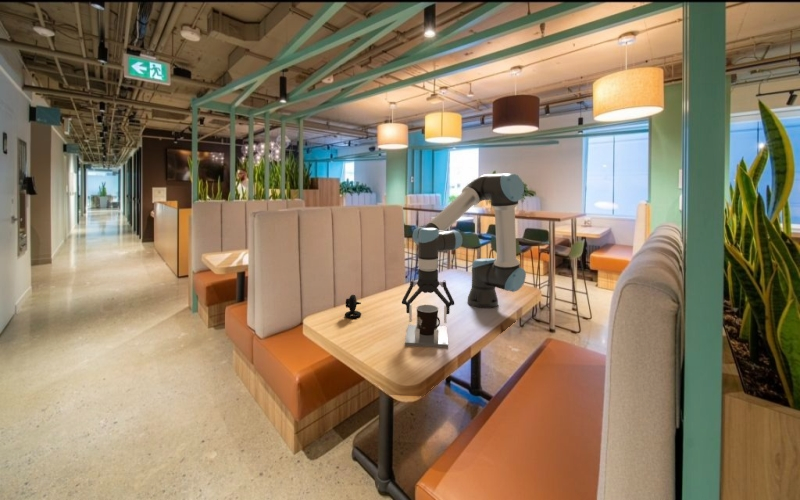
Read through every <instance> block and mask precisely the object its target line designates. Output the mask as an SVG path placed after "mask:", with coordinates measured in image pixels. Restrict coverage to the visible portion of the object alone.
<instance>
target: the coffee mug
mask: <svg viewBox="0 0 800 500" xmlns="http://www.w3.org/2000/svg"><path fill="white" fill-rule="evenodd" d="M438 313H439V307H438V306H436V305H432V304H419V305H418V306H417V307H416V319H417V318H418V328H419V329H420V334H421V335H425V336H430V335H433V334H434V330H435V329H436V328H437V327H438V326H441V319H440V318H439V314H438ZM437 315H438V317H437ZM437 319H438V323H437V326H436V322H437Z"/></svg>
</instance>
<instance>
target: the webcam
mask: <svg viewBox="0 0 800 500" xmlns="http://www.w3.org/2000/svg"><path fill="white" fill-rule="evenodd" d="M357 300H358V299H357V297H356V295H355V294H350V296H349V297H348V298H346V299H345V308H347V309H349V311H346V312H345V313H344V317H345V318H346V319H352V320H353V319H354V320H355V319H358V318H361V317H362V312H361V311H358V310H356V309H357V305H361V304H362V302H359V301H357Z"/></svg>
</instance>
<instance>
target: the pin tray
mask: <svg viewBox="0 0 800 500" xmlns="http://www.w3.org/2000/svg"><path fill="white" fill-rule="evenodd" d="M437 317H438V318H439V314H438V315H437ZM438 323H439V322H438V319H437V322H436V326H437V325H438ZM448 340H449V338H448V329H447V326H446V325H439V326H438V327H437V328H436V329H435V330H434V334H433V335H430V336H425V335H421V334H420V329H419V328H418V318H417V317H416V324H407V327H406V335H405V341H404V346H407V347H427V348H429V347H430V348H431V347H432V348H448V349H449V341H448Z"/></svg>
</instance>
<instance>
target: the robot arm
mask: <svg viewBox="0 0 800 500" xmlns="http://www.w3.org/2000/svg"><path fill="white" fill-rule="evenodd" d="M524 192H525V186H524V182H523V180H522V178H521V177H520V176H519V175H518V174H516V173H509V172H507V173H506V172H505V173H504V172H503V173H487V174H483V175H480V176H479V177H477V178H475V179H473V180H472V181H471V182H469V183H468V184H467V185H466V186H465V187H463V189H462V190H461V193H460V194H459V195H458V196H457V197H456V198H454V200H452V201H451V202H450V203H449V204H448V205H447V206H446V207H445V208H443V210H441V211H440V212H439V213H438V214H437V215H435V217H434V218H433V219H432V220H430V221H429V222H428V223H427V224H426V225H425V226H421V227H419V226H418V227H416V228H415V229H414V230H413V232H412V240H413V242H414V243H415V244H417V246H418V248H417V251H418V253H417V254H418V261H417V267H418V270H417V272H418V273H417V278H418V280H417V281H416V280H413V279H411V280H410V283H409V286H408V288H407V290H406V293H405V294H404V297H403V298H402V301H401V304H402V305H405V306H406V307H405V308H406V312H405V313H406V314H408V315H409V316H408V317H409V320H408V322H409V323H412V318H413V315H412V313H413V312H412V310H413V309H412V308H413V307H412V305H413V304H412V303H413V302H414V300H416V298H418V297H419V295H421V293H422V292H423V293H424V294H426V293H429V294H432V293H435V294H436V296H437V297H438V298H439V299H440V300H441V301H442V302H443V304H444V306H443V307H444V308H443V309H444V310H443V311H444V312H443V313H444V314H443V322H444V324H446V323H447V315H450V310H451V309H450V307H451V306H454V305H455V301H454V299H453V296H452V294H451V292H450V291H449V289H448V287H447V281H446V280H443V281H439V270H438V268H439V253H440V252H448V251H454V250H457V249H460V247H461V246H462V244H463V236H462V234H461V232H460V231H458V230H448V229H450V227H451V226H452V225H454V224H455V223H456V222H457V221H458V220H459V219H460V218H461V217H463V215H464V214H465V213H466V212H468V210H470V209H471V208H472V207H473V206H477V205H478V204H479V203H480V202H483V201H486V200H487V201H490V206H491V207H492V208H493V210H494V220H495V221H494V223H495V243H496V245H495V246H496V258H490V257H489V258H488V257H487V258H486V257H485V258H477V259H474V260H473V261H472V267H471V288H470V291H469V294H468V296H467V304H469V306H472V307H477V308H481V309H482V308H483V309H486V308H487V309H490V308H495V307H497V306H498V304H499V299H498V295H497V292H496V289H501V290H503V291H506V292H507V291H509V292H512V293H515V292H517V291H520V289H521V288H522V286H523V285H524V284H525V281H526V277H527V276H526V275H527V274H526V270H525V269H524V268H523V267H521V262H520V261H519V260H518V258H517V239H516V237H517V235H516V207H517V206H518V204H519V201H520V200H521V199H522V198H523V196H524ZM416 285H417V287H418V288H417V290H416V291H415V292H414V293H413V294H412V295H411V296H410V294H411V292H412V290H413V288H415V287H416ZM439 286H440V287H441V288H443V290H444V293H445V295H446V297H447V298H446V297H445V296H444V294H443V293H442V292H441V291H440V290H439V289H438V287H439ZM409 296H410V297H409ZM408 298H409V299H408Z"/></svg>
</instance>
